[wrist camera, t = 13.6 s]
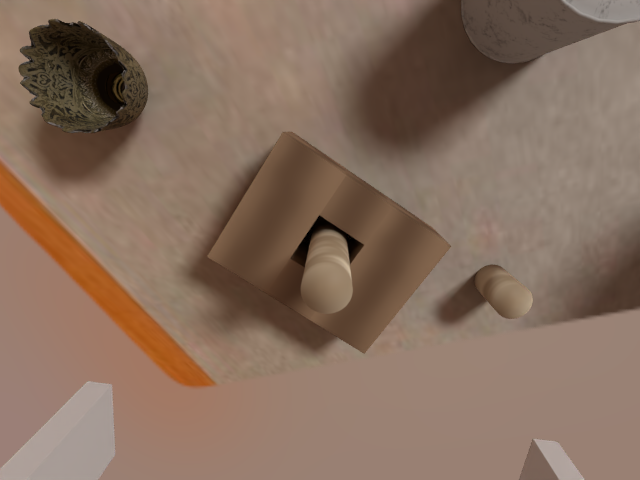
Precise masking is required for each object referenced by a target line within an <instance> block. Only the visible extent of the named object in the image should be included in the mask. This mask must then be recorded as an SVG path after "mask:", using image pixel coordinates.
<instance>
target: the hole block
mask: <svg viewBox="0 0 640 480" xmlns="http://www.w3.org/2000/svg"><path fill="white" fill-rule="evenodd" d="M319 215H320V216H321V217H323V218H324V219H326V220H327V221H329V222H330V223H332V224H333V225H335V226H337V227H338V228H340V229H341V230H343V231H344V232H346V233H347V234H349V235H350V236H352V239H351V240H350V241H349V243H348V244H347V246H348V254H349V262H350V270H351V279H352V287H353V293H352V297H351V300H350V302H349V303H348V304H347V306H346V307H344V308H343V309H342V310H340V311H338V312H335V313H331V314H323V313H318V312H316V311H314V310H312V309H311V308H309V307H308V306H307V305H306V304H305V302H304V301H303V298H302V296H301V283H302V278H303V274H304V269H305V264H306V259H307V255H308V250H309V246H308V245H306V244H305V243H303V242H302V240H303V238H304V237H305V235H306V234H307V233H308V231H309V230H310V228H311V227H312V225H313V224H314V222H315V221H316V219H317V218H318V216H319ZM450 247H451V246H450V245H449V244H448V243H447V242H446V241H445V240H444V239H443V238H442V237H441V236H440V235H439V234H438V233H437V232H436V231H435V230H434V229H433V228H432V227H431V226H429V225H428V224H426V223H425V222H423V221H422V220H420V219H419V218H417V217H416V216H415V215H413V214H412V213H410V212H409V211H407V210H406V209H404V208H403V207H401V206H400V205H398V204H397V203H395V202H394V201H393V200H391V199H390V198H388V197H387V196H385V195H384V194H382V193H381V192H379V191H378V190H376V189H375V188H374V187H372V186H371V185H369V184H368V183H366V182H365V181H363V180H362V179H360V178H359V177H357V176H356V175H354V174H353V173H352V172H350V171H349V170H347V169H346V168H344V167H343V166H341V165H340V164H338V163H337V162H335V161H334V160H332V159H331V158H330V157H328V156H327V155H325V154H324V153H322V152H321V151H319V150H318V149H316V148H315V147H313V146H312V145H311V144H309V143H308V142H306V141H305V140H303V139H302V138H300V137H299V136H297V135H296V134H294V133H293V132H283V133H282V134H281V136H280V138H279V139H278V141H277V142H276V144H275V146H274V147H273V149H272V151H271V152H270V154H269V156H268V157H267V159H266V161H265V162H264V164H263V166H262V167H261V169H260V170H259V172H258V174H257V175H256V177H255V179H254V180H253V182H252V184H251V185H250V187H249V189H248V190H247V192H246V193H245V195H244V197H243V198H242V200H241V202H240V203H239V205H238V207H237V208H236V210H235V212H234V213H233V215H232V217H231V218H230V220H229V221H228V223H227V225H226V226H225V228H224V230H223V231H222V233H221V235H220V236H219V238H218V240H217V241H216V243H215V245H214V246H213V248H212V249H211V251H210V253H209V254H208V256H207V257H208V258H210V259H211V260H213V261H215V262H216V263H218V264H219V265H221V266H223V267H224V268H226V269H228V270H229V271H231V272H232V273H234V274H236V275H237V276H239V277H241V278H242V279H244V280H245V281H247V282H249V283H250V284H252V285H254V286H255V287H257V288H258V289H260V290H262V291H263V292H265V293H267V294H268V295H270V296H271V297H273V298H275V299H276V300H278V301H280V302H281V303H283V304H284V305H286V306H288V307H289V308H291V309H293V310H294V311H296V312H297V313H299V314H301V315H302V316H304V317H306V318H307V319H309V320H310V321H312V322H314V323H315V324H317V325H319V326H320V327H322V328H323V329H325V330H327V331H328V332H330V333H332V334H333V335H335V336H336V337H338V338H340V339H341V340H343V341H345V342H346V343H348V344H349V345H351V346H353V347H354V348H356V349H358V350H359V351H361V352H362V353H365V352H366V351H367V350H368V348H369V347H370V346H371V345H372V344H373V342H374V341H375V340H376V339H377V337H378V336H379V335H380V334H381V332H382V331H383V330H384V329H385V327H386V326H387V325H388V324H389V323H390V321H391V320H392V319H393V318H394V316H395V315H396V314H397V313H398V311H399V310H400V309H401V308H402V306H403V305H404V304H405V303H406V302H407V300H408V299H409V298H410V297H411V295H412V294H413V293H414V292H415V290H416V289H417V288H418V287H419V285H420V284H421V283H422V282H423V281H424V279H425V278H426V277H427V276H428V274H429V273H430V272H431V271H432V269H433V268H434V267H435V266H436V264H437V263H438V262H439V261H440V260H441V258H442V257H443V256H444V255H445V253H446V252H447V251H448V250H449V248H450Z"/></svg>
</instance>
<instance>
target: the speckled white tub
mask: <svg viewBox="0 0 640 480" xmlns="http://www.w3.org/2000/svg"><path fill="white" fill-rule="evenodd" d="M461 16H462V20H463V24H464V28H465V31H466V33H467V35H468V37H469V39H470V41H471V42H472V43H473V44H474V46H475V47H476V48H477V49H478V50H479V51H480V52H481V53H483V54H484V55H486V56H487V57H489V58H490V59H493V60H496V61H499V62H503V63H521V62H527V61H530V60H533V59H535V58H538V57H540V56H542V55H544V54H546V53H548V52H551V51H554V50H556V49H559V48H562V47H564V46H567V45H570V44H572V43H575V42H578V41H581V40H583V39H586V38H589V37H591V36H594V35H597V34H599V33H602V32H605V31H607V30H610V29H613V28H616V27H618V26H621V25H624V24H626V23H632V22H637V21H640V0H461Z"/></svg>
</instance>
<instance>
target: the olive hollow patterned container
mask: <svg viewBox="0 0 640 480" xmlns="http://www.w3.org/2000/svg"><path fill="white" fill-rule="evenodd" d="M48 22H49V25H40V26H37V27H35V28H33V29H31V30H30V31H29V35H30V40H31V46H25V47H22V48H21V49H20V52H21V53H22V54H23V55H24V56H25V57H27V58H28V59H29V60H30V59H31V60H30V61H28V62H24V63H22V64H20V66H19V72H20V74H21V76H23V77H24V78H23V80H22V81H21V82H20V84H21V85H22V86H23V87H25V88H26V89H27V90H29V92H30V93H31V94H33V95H35V96H36V97H34V98H33V99H32V100H31V101H30V104H31V105H33V106H35V107H37V108H40V109H41V110H42V116H43V118H44V121H45V122H47V123H48V124H51V125H54V126H57V127H58V128H62V130H63V131H64V132H68V133H74V132H84V133H95V132H98V131H103V130H109V129H113V128H117V127H121V126H124V125H126V124H128V123H130V122H132V121H133V120H135V119H136V118H137V117H138V116H139V115H140V114H141V112H142V111H143V109H144V107H145V105H146V102H147V98H148V85H147V81H146V77H145V75H144V72H143V70H142V68H141V67H140V65H139V64H138V62H137V61H136V60H135V59H134V58H133V57H132V55H131V54H129V53H128V52H127V51H126V50H125V49H124V48H122V47H121V46H119V45H118V44H117V43H115V42H114V41H112V40H110V39H109V38H107V37H106V36H104V35H103V34H101V33H99V32H98V31H96V30H95V29H93V28H92V27H90V26H88V25H87V24H85V23H83V22H81V21H78V24H77V23H73V22H72V23H65V22H62V21H60V20H58V19H51V20H49V21H48ZM123 82H124V84H125V90H124V91H123V93H122V92H121V86H122V84H123Z"/></svg>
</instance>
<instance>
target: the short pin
mask: <svg viewBox="0 0 640 480" xmlns="http://www.w3.org/2000/svg"><path fill="white" fill-rule="evenodd" d="M474 284H475V287H476V289H477V290H478V291H479V292H480V293H481V294H482V296H483V297H484V298H485V299H486V300H487V301H488V302H489V303H490V305H491V306H492V307H493V308H494V309H495V310H496V311H497V312H498V314H499V315H501V316H502V317H505V318H508V319H515V318H519V317H521V316H523V315H524V314H526V313H527V312H528V311H529V310H530V308H531V306H532V302H533V297H532V294H531V292H530V291H529V290H528V289H527V288H526V287H525V286H524V285H522V284H521V283H520V282H519V281H518V280H516V279H515V278H514V277H513V276H512V275H510V274H509V273H508V272H507V271H505V270H504V269H503V268H502V267H500V266H498V265H487V266H485V267H483V268H481V269H480V270H479V271H478V272H477V274H476V276H475V279H474Z"/></svg>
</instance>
